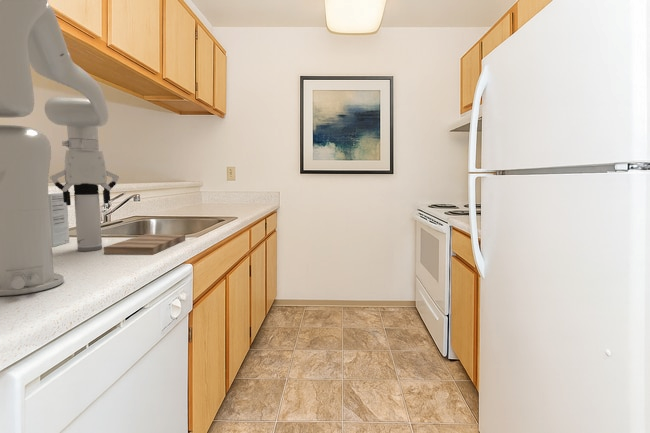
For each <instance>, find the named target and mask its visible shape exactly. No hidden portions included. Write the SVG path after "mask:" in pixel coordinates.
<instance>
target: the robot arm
mask: <svg viewBox="0 0 650 433" xmlns="http://www.w3.org/2000/svg"><path fill="white" fill-rule="evenodd" d="M31 69H33V71H34V72H36V73H37V74H38V75H40V76H42V77H43V78H46V79H49V80H50V81H53V82H56V83H58V84H61V85H62V86H66V87H69V88H70V89H72V90H75V91H77V92H79V93H80V94H81V95H83V96H84V97H72V96H71V97H69V96H68V97H67V96H54V97H53V96H52V97H50V98H49V99H48V100H46V102H45V103H44V113H45V116H46V117H47V119H48V120H49V121H50V122H51V123H53V124H55V125H57V126H62V127H63V126H64V127H66V130H67V131H66V132H67V140H65V141H64V140H62V141H61V145H62V147H67V148H68V149H67V150H65V157H64V170H62V171H59V172H56V173H54V174H53V175H52V174H51V175H50V176H49V174H50V165H51V159H52V146H51V142H50V140H49V139H48V137H47V136H46V135H45V134H44V133H43V132H41V131H39V130H37V129H35V128H33V127H29V126H24V125H10V124H0V296H5V297H6V296H15V295H16V296H17V295H25V294H31V293H36V292H37V293H38V292H42V291H45V290H49V289H52V288H55V287H58V286H59V285H61V284H62V283H64V275H62V274H60V273H55V271H54V267H55V266H54V256H53V247H52V240H51V226H50V212H49V197H48V192H49V179H50V180H51V182H52V183H53V184H54V187H57V188H58V189H59V190H60V191H62V193H63V200H64V203H66V205H67V206H71V205H72V204H71V192H70V191H69V189H71V187H72V186H74V185H80V184H81V183H89V184H93V185H98V186H101V187H102V188H103V190H102V195H103V196H102V197H103V199H102V200H103V204H107V205H108V204H109V201H111V190H112V189H113V188H114V187H115V186H116V185H117V182H118V180H119V179H120V177H119V175H117V174H115V173H112V172H111V171H109V170H107V168H106V162H105V156H104V154H103V151H100V147H99V146H100V145H99V133H98V132H99V131H98V128H99V127H103V126H105V125H106V124H107V123H108V121H109V110H108V106H107V102H106V99H105V95H104V93H103V90H102V88H101V87H100V85H99V83H98V82H97V81H96V80H95V78H93V76H91V75H90V74H89V73H88V72H87V71H86V70H84V69H83V68H82V67H80V65H77V64H76V63H75V62H73V59H72V57H71V54H70V51H69V50H68V46H67V43H66V40H65V37H64V35H63V32H62V29H61V26H60V23H59V21H58V18H57V15H56V12H55V10H54V8H53V7H52V6H51V4H49V2H48V0H0V118H2V119H3V118H4V119H5V118H7V119H9V118H11V119H15V118H24V117H27V116H29V115H31V114H32V112H33V111H34V108H35V94H34V86H33V77H32V70H31ZM63 176H64V180H65V184H64V185H63V184H62V183H61V182H60V181H59V180H58V179H59V178H61V177H63ZM108 177H110V178H111V181H110V182H109V183H107V182H108Z"/></svg>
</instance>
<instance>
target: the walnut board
mask: <svg viewBox="0 0 650 433" xmlns="http://www.w3.org/2000/svg"><path fill="white" fill-rule="evenodd" d="M185 241H186V234H173V233H172V234H163V233H162V234H157V233H155V234H154V233H152V234H150V233H148V234H147V233H145V234H142V235H139V236H135V237H132V238H129V239H126V240H122V241H120V242H116V243H112V244H110V245H106V246H104V247H103V254H104V255H151V256H153V255H155V254H157V253H159V252H161V251H164V250H166V249H169V248H172V247H174V246H176V245H178V244H180V243H183V242H185Z"/></svg>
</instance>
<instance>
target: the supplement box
mask: <svg viewBox="0 0 650 433" xmlns="http://www.w3.org/2000/svg"><path fill="white" fill-rule="evenodd" d="M48 197H49V212H50V226H51V240H52V248H54V247H57V246H61V245H65V244H68V243H70V231H69V230H70V228H69V227H70V226H69V212H68V205H66V203H64V200H63V192H49V191H48Z"/></svg>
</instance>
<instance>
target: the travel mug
mask: <svg viewBox="0 0 650 433" xmlns="http://www.w3.org/2000/svg"><path fill="white" fill-rule="evenodd" d="M73 193H74V198H73V199H74V212H75V214H74V216H75V226H76V229H75V230H76V243H77V251H79V252H95V251H101V249H103V244H102V243H103V242H102V241H103V240H102V224H101V222H102V221H101V207H100V206H101V205H100V193H99V185H93V184H89V183H81V184H80V185H73Z"/></svg>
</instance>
